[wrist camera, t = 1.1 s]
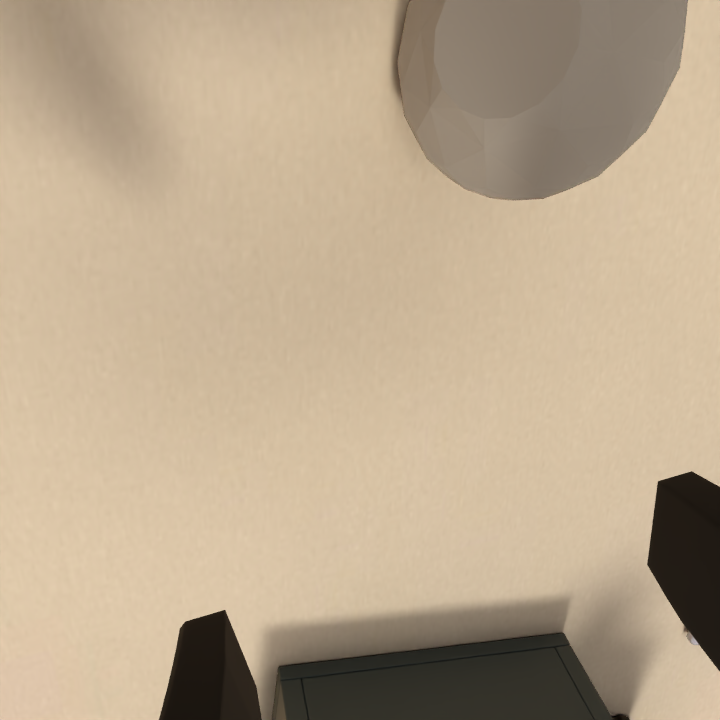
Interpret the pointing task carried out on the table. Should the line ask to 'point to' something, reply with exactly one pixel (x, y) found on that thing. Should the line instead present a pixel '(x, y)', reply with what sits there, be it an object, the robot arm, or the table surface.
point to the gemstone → (534, 86)
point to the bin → (445, 685)
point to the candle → (620, 717)
